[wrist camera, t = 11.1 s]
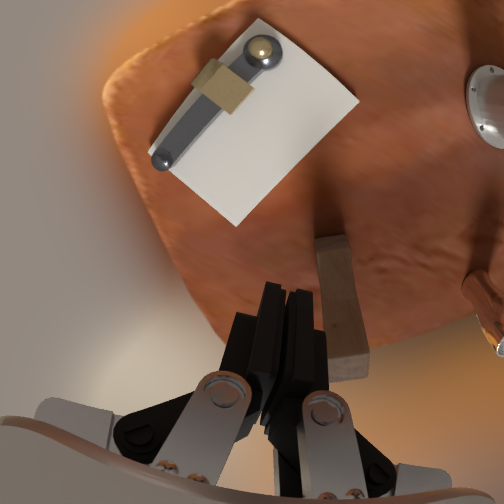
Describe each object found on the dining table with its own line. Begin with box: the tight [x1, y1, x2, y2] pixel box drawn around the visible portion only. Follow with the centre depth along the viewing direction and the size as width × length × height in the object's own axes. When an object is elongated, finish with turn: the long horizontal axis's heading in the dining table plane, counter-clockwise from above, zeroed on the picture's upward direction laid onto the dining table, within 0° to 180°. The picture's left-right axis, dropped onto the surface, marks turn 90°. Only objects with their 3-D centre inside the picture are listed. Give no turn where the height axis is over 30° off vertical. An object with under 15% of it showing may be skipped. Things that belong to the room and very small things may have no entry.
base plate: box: [148, 18, 360, 226], centre depth 33 cm, size 23×16×2 cm
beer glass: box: [462, 269, 504, 357], centre depth 32 cm, size 7×7×15 cm
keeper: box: [190, 37, 273, 115], centre depth 28 cm, size 9×6×5 cm, turn 139°
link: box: [151, 34, 283, 171], centre depth 31 cm, size 22×4×2 cm, turn 136°
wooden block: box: [315, 234, 370, 383], centre depth 34 cm, size 9×4×18 cm, turn 13°
